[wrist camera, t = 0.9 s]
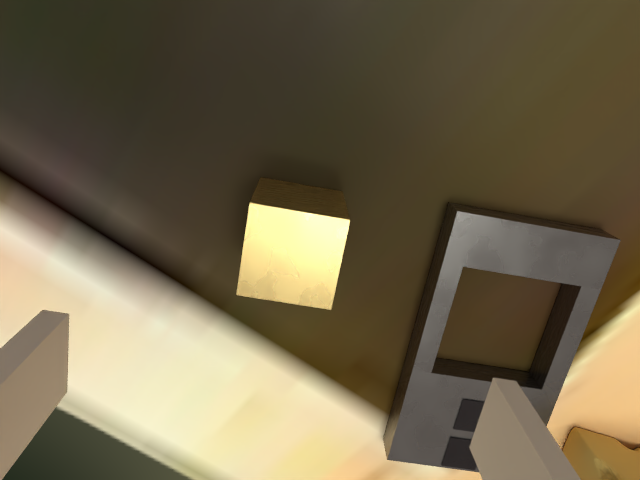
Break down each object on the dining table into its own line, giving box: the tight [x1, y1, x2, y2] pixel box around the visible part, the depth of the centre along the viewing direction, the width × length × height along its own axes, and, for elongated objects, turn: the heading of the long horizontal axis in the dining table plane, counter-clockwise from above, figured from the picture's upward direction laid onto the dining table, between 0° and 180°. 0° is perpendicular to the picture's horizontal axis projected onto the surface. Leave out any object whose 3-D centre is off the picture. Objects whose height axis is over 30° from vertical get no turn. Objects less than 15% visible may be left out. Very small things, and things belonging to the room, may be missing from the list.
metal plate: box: [383, 202, 620, 472], centre depth 33 cm, size 18×10×2 cm, turn 170°
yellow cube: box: [236, 177, 350, 310], centre depth 28 cm, size 5×5×6 cm
